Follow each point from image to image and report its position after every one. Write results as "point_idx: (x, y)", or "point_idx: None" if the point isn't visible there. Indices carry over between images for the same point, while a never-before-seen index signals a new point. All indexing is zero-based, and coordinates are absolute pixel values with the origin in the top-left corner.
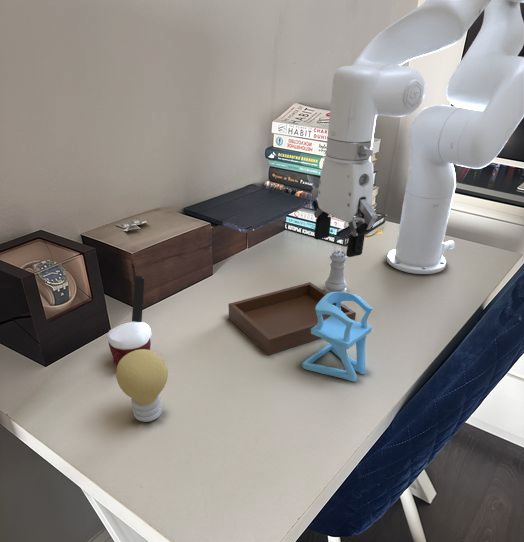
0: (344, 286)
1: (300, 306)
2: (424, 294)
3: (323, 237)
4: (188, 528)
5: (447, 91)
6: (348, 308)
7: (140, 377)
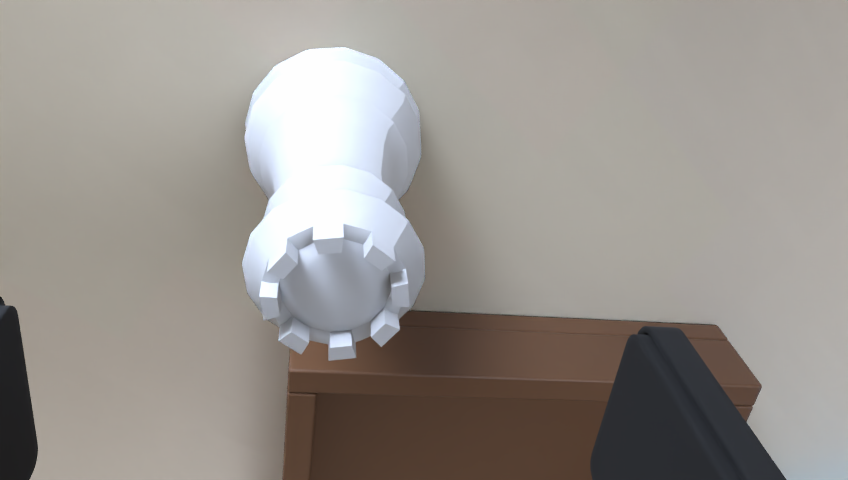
0: (416, 133)
1: (406, 444)
2: None
3: (22, 381)
4: None
5: None
6: None
7: None
